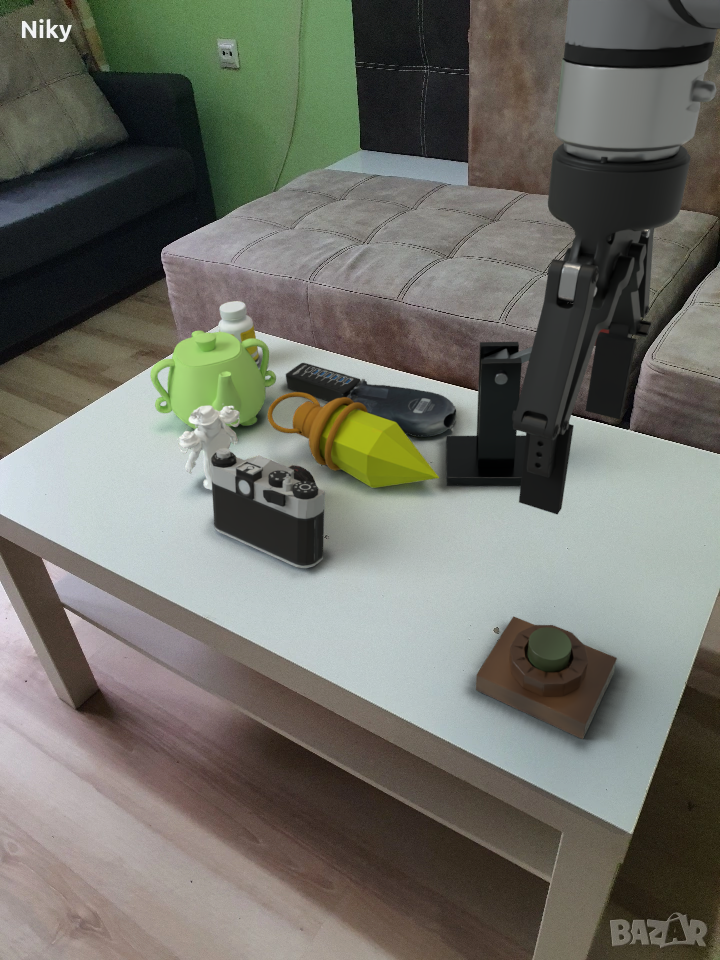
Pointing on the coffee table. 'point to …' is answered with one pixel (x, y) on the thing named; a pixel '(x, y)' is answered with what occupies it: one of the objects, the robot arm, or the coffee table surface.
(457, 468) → the bracket
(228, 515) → the camera
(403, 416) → the electronic device
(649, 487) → the coffee table surface
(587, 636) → the coffee table surface
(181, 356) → the teapot
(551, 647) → the button
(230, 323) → the supplement bottle
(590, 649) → the button block
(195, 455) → the flower shoulder figurine
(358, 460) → the plumb bob
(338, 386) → the multiport hub
